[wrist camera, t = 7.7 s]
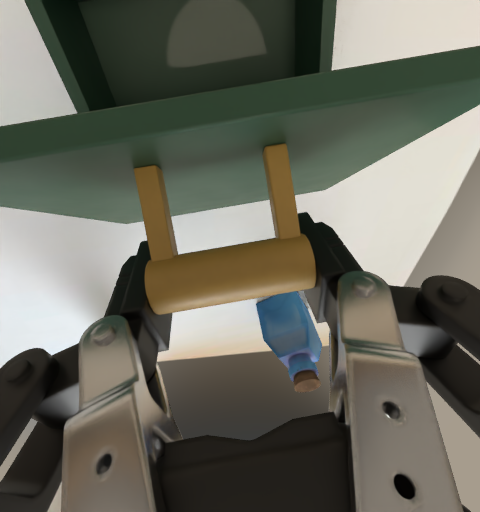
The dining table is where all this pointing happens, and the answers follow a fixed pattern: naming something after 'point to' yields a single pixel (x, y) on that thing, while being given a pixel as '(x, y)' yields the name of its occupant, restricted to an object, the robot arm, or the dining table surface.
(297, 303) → the perfume bottle
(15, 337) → the dining table surface
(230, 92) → the cover
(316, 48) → the green storage bin
